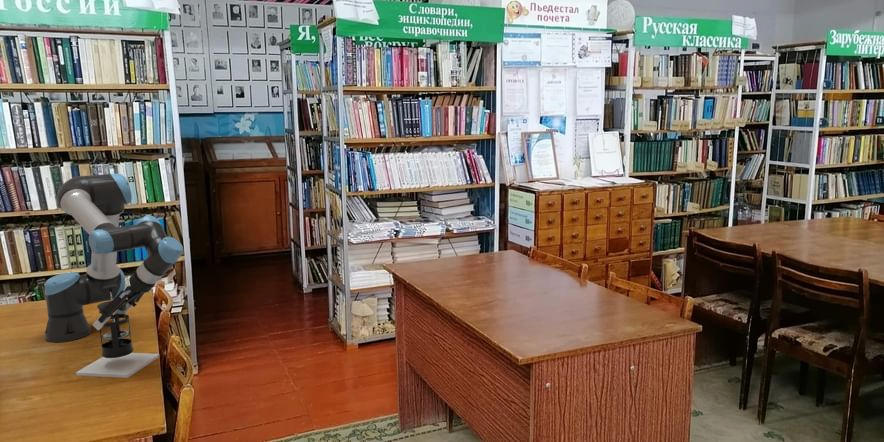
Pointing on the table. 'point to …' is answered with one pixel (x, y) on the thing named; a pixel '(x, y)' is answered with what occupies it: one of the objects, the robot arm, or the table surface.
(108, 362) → the white square mat
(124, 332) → the french press
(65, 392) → the table surface
